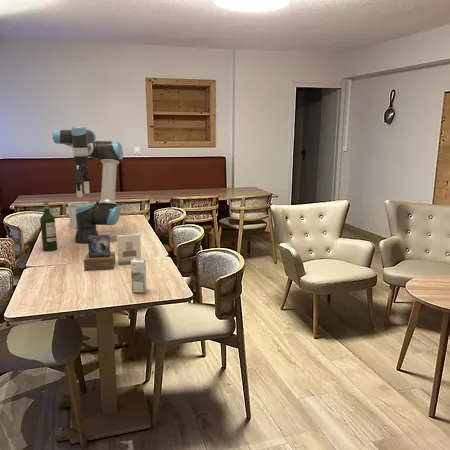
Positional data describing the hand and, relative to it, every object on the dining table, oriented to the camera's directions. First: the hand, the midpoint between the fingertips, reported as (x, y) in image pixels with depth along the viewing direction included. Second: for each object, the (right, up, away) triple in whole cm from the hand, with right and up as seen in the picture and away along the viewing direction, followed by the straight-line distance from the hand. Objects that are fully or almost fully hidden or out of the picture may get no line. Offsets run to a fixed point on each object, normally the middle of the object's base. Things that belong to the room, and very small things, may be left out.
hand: (83, 195), depth 240 cm
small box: (+12, -33, -12) cm, 37 cm away
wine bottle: (-26, -31, +21) cm, 46 cm away
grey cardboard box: (+26, -37, -5) cm, 45 cm away
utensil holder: (-29, -18, +82) cm, 89 cm away
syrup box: (+39, -46, -45) cm, 75 cm away
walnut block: (+12, -38, -10) cm, 41 cm away
